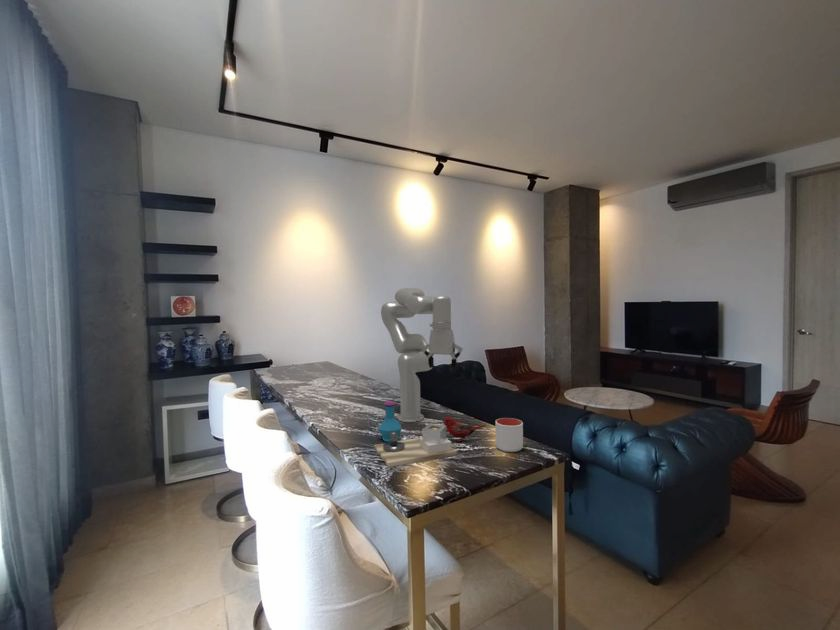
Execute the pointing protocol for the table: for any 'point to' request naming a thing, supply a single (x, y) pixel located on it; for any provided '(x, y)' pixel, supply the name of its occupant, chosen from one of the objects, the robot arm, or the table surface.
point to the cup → (509, 434)
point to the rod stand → (393, 444)
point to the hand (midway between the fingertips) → (442, 367)
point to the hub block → (435, 446)
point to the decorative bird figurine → (459, 428)
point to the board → (410, 454)
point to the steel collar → (434, 433)
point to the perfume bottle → (389, 422)
